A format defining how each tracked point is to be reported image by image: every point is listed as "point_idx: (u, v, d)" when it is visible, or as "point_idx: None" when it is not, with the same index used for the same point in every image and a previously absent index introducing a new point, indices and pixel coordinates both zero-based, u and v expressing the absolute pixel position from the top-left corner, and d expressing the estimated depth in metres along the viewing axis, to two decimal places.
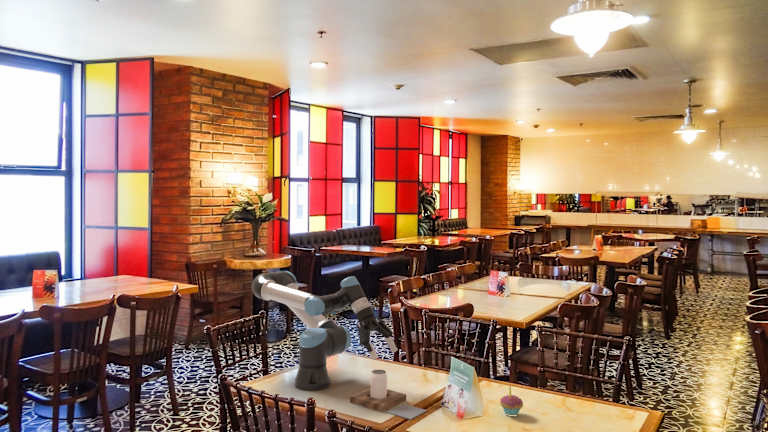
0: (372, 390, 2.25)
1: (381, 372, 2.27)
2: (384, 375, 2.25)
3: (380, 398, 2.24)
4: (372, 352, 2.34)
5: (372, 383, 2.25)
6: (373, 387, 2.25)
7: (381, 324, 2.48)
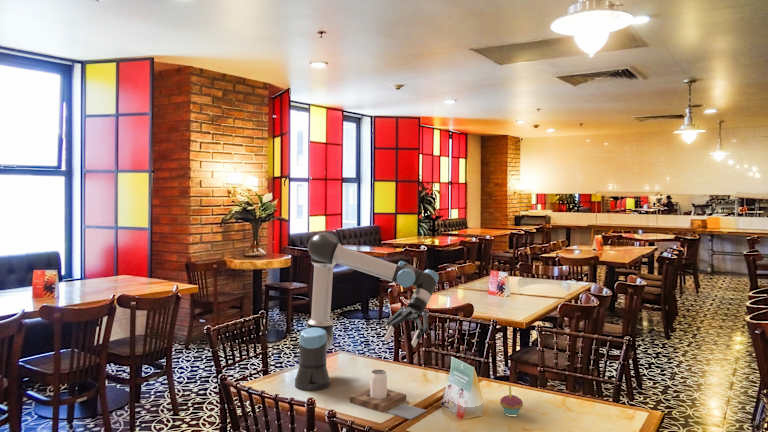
0: (372, 390, 2.25)
1: (381, 372, 2.27)
2: (384, 375, 2.25)
3: (380, 398, 2.24)
4: (416, 340, 2.34)
5: (372, 383, 2.25)
6: (373, 387, 2.25)
7: (399, 316, 2.48)
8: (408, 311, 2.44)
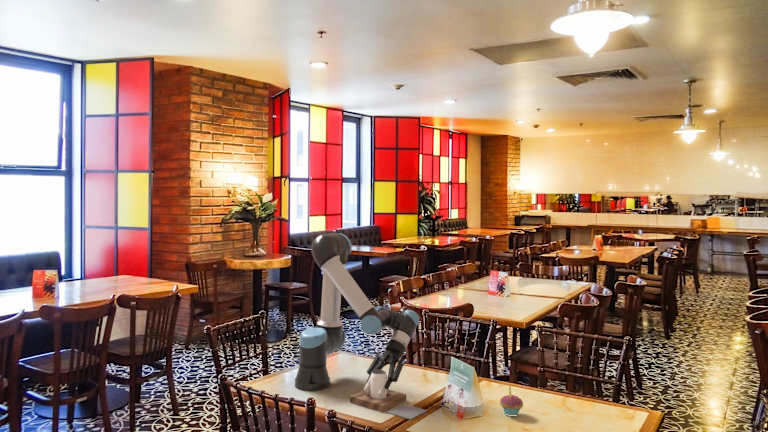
0: (372, 390, 2.25)
1: (381, 372, 2.27)
2: (384, 375, 2.25)
3: (380, 398, 2.24)
4: (384, 389, 2.24)
5: (372, 383, 2.25)
6: (373, 387, 2.25)
7: (378, 361, 2.35)
8: (386, 355, 2.33)
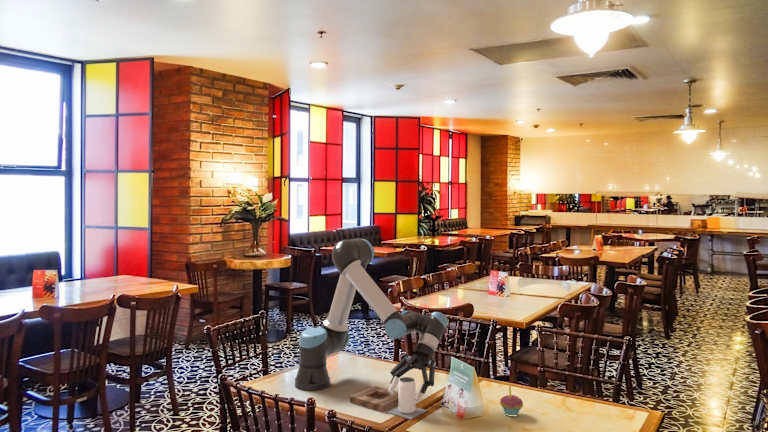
0: (400, 399, 2.15)
1: (409, 380, 2.17)
2: (413, 383, 2.15)
3: (409, 407, 2.14)
4: (420, 394, 2.12)
5: (400, 392, 2.15)
6: (401, 396, 2.14)
7: (404, 364, 2.26)
8: (414, 359, 2.22)
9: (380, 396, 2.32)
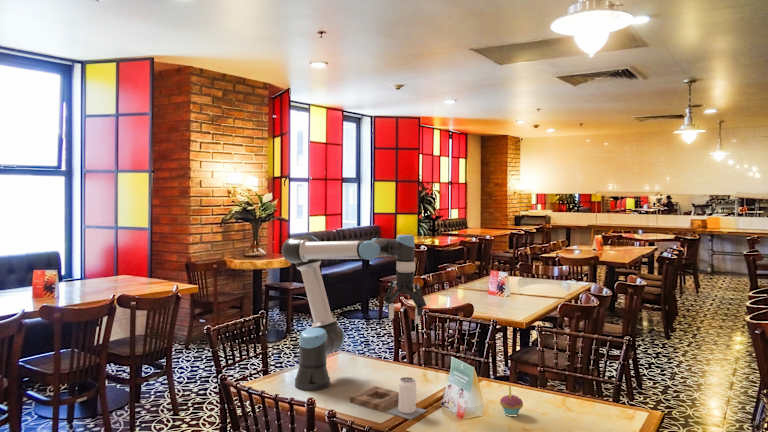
0: (401, 399, 2.15)
1: (410, 380, 2.17)
2: (413, 383, 2.15)
3: (409, 407, 2.14)
4: (418, 316, 2.40)
5: (401, 392, 2.15)
6: (402, 396, 2.14)
7: (393, 288, 2.48)
8: (399, 287, 2.43)
9: (380, 396, 2.32)
